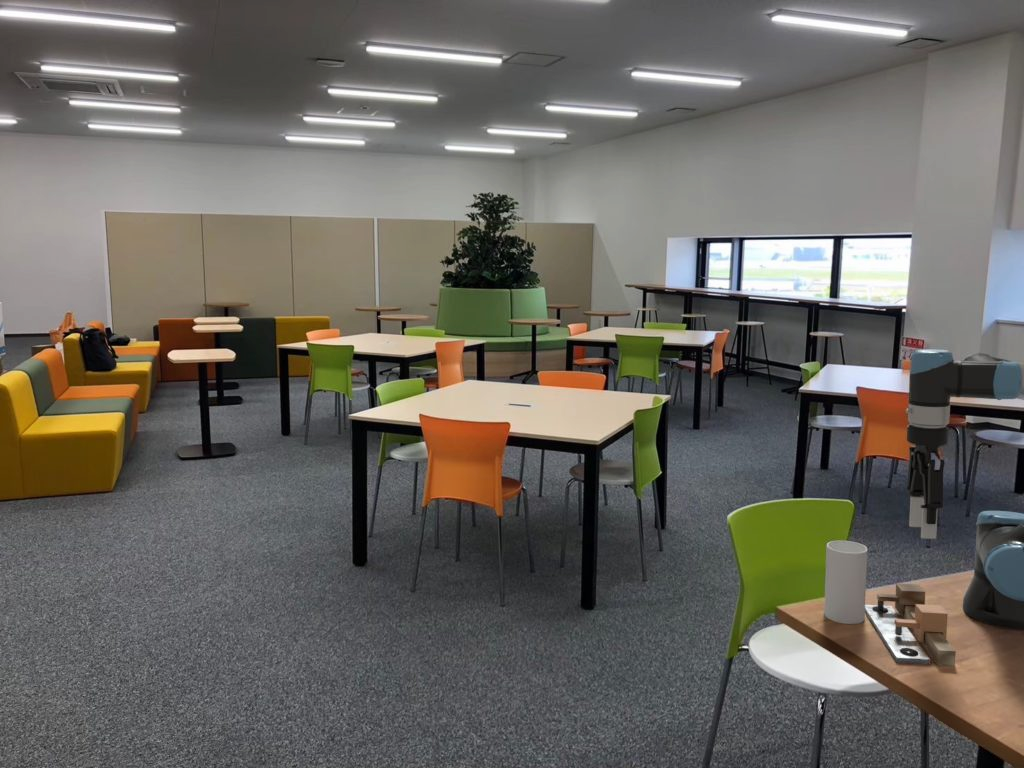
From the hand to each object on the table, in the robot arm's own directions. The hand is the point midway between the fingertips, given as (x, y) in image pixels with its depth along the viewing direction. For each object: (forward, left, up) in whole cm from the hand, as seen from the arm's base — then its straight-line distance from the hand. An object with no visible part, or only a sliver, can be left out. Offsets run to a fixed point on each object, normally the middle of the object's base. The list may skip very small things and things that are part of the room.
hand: (922, 531), depth 165 cm
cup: (+14, -4, -21) cm, 26 cm away
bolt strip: (+6, +4, -21) cm, 22 cm away
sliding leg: (+2, +7, -20) cm, 22 cm away
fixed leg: (+2, -6, -20) cm, 21 cm away
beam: (0, +4, -21) cm, 21 cm away
